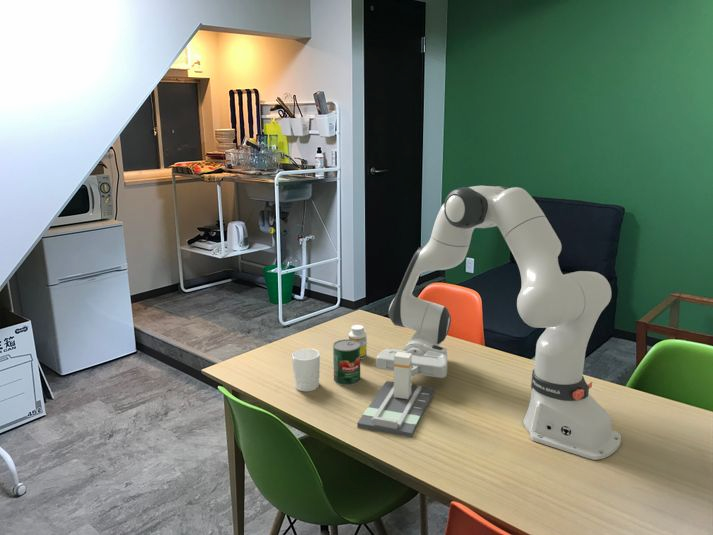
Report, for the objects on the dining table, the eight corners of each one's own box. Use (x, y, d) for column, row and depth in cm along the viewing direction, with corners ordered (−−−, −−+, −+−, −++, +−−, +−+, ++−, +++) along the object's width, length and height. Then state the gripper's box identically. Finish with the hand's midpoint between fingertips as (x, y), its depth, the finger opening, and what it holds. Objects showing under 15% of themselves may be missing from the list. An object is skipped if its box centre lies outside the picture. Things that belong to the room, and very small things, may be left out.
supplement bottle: (346, 355, 185) (345, 325, 182) (361, 352, 188) (361, 322, 185) (354, 362, 180) (353, 331, 178) (369, 358, 183) (369, 328, 180)
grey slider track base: (434, 392, 161) (434, 382, 160) (411, 437, 139) (411, 426, 138) (386, 384, 166) (386, 375, 165) (357, 427, 144) (357, 416, 143)
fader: (411, 394, 157) (412, 353, 153) (408, 399, 154) (408, 358, 151) (397, 391, 158) (397, 351, 155) (393, 397, 155) (393, 356, 152)
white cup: (319, 392, 161) (318, 360, 159) (291, 392, 162) (290, 360, 159) (321, 379, 169) (320, 348, 166) (295, 379, 169) (293, 348, 167)
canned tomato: (348, 388, 164) (347, 352, 161) (328, 380, 169) (327, 345, 166) (366, 378, 170) (365, 343, 167) (346, 370, 175) (345, 337, 172)
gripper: (383, 340, 171) (368, 359, 159) (452, 349, 164) (441, 369, 152) (383, 359, 173) (368, 380, 160) (451, 369, 166) (441, 391, 153)
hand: (404, 375), depth 156 cm, fingers closed, pressing on fader
